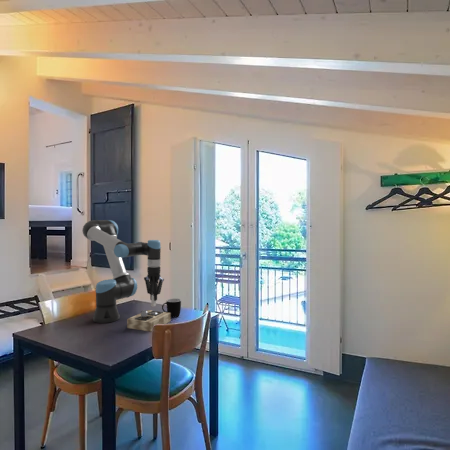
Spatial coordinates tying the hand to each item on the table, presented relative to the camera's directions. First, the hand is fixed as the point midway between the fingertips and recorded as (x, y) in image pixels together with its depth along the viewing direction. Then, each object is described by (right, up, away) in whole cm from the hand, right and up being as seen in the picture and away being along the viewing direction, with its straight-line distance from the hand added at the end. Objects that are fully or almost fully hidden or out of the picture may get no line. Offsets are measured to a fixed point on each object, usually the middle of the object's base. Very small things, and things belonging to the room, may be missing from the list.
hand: (153, 305), depth 208 cm
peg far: (0, -9, 0) cm, 9 cm away
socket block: (-2, -10, -5) cm, 11 cm away
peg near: (-4, -6, -9) cm, 12 cm away
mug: (+9, -9, +12) cm, 17 cm away
